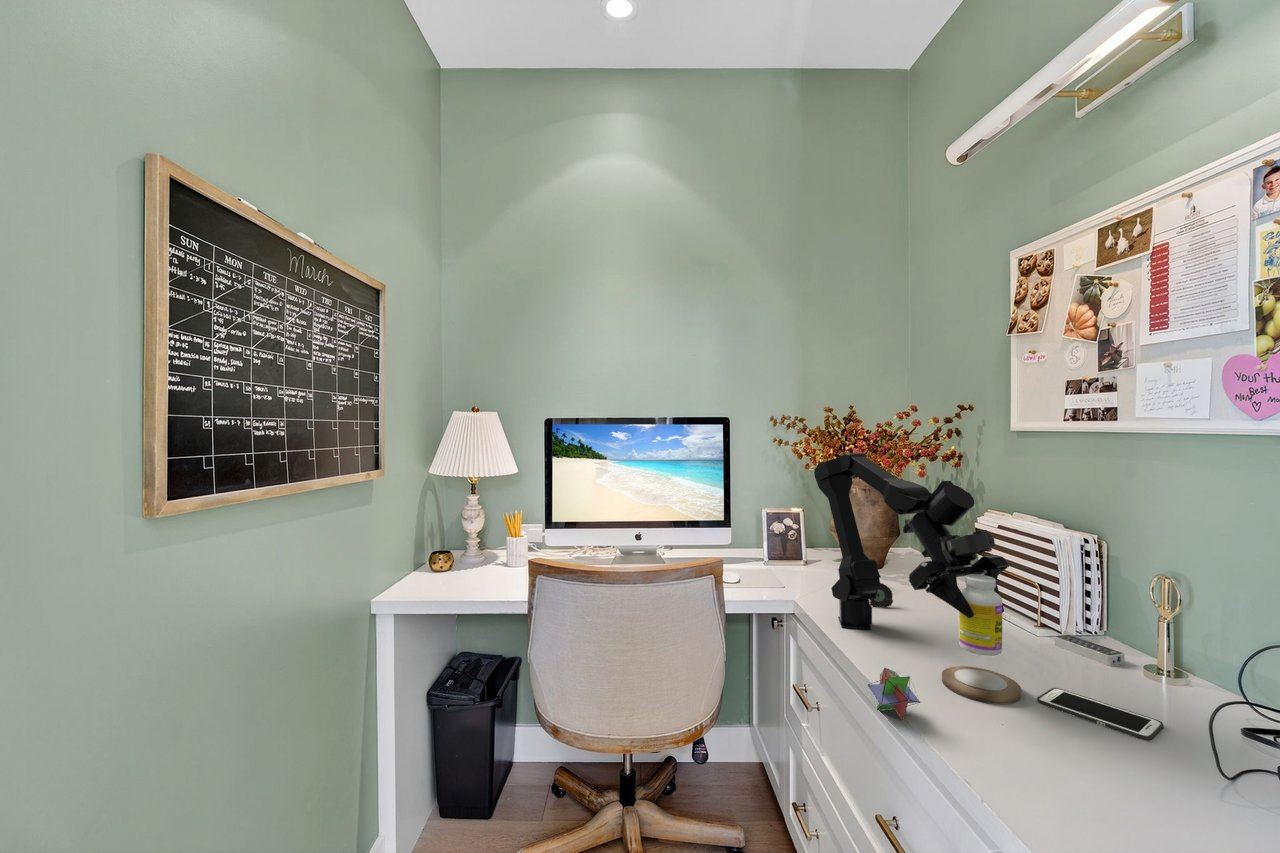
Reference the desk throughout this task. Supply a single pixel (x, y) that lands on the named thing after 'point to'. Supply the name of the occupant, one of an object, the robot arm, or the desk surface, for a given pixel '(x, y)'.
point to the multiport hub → (1090, 650)
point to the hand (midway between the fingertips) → (986, 614)
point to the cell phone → (1102, 713)
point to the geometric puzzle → (893, 692)
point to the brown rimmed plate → (981, 685)
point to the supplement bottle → (981, 617)
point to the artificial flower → (882, 597)
